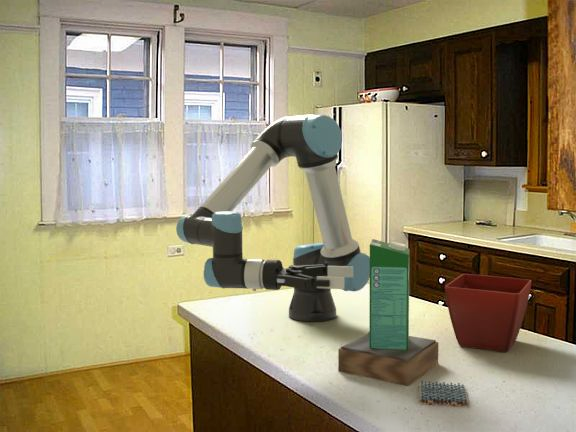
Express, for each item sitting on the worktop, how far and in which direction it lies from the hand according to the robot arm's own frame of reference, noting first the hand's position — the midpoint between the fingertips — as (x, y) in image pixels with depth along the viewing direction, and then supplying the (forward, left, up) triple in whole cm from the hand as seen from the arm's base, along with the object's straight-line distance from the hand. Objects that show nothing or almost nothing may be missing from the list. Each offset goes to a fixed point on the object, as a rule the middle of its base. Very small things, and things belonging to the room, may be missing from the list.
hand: (349, 277), depth 163 cm
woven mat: (+27, -8, -23) cm, 36 cm away
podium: (+9, +3, -22) cm, 24 cm away
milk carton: (+9, +3, -16) cm, 19 cm away
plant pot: (+23, +35, -22) cm, 48 cm away
